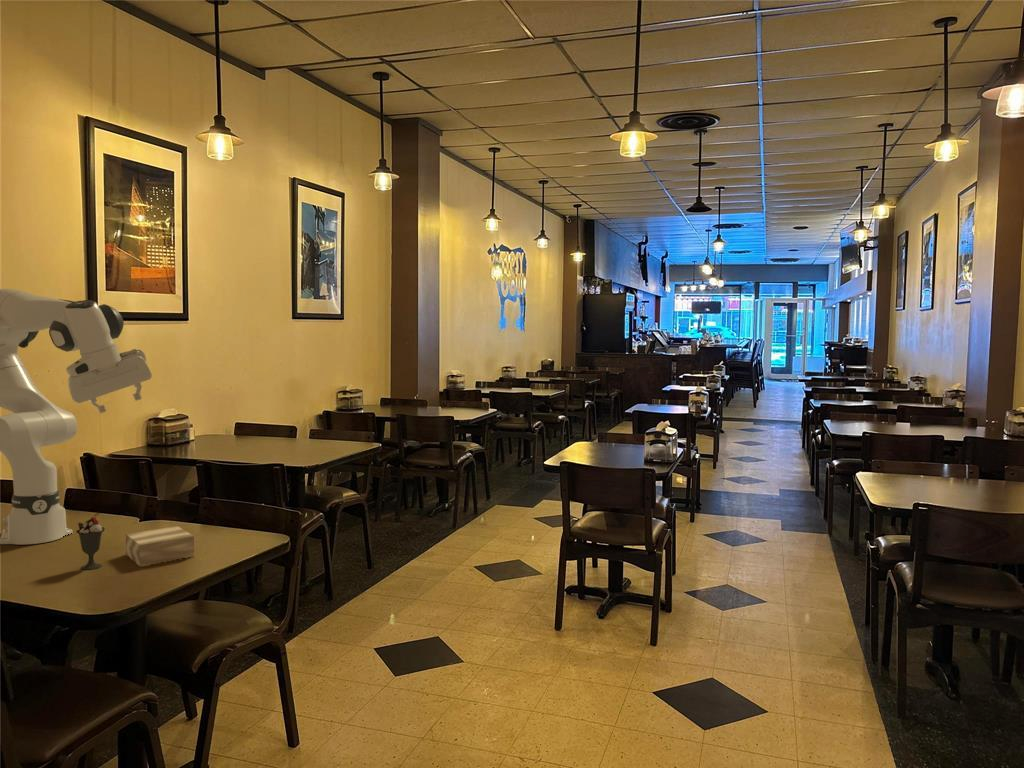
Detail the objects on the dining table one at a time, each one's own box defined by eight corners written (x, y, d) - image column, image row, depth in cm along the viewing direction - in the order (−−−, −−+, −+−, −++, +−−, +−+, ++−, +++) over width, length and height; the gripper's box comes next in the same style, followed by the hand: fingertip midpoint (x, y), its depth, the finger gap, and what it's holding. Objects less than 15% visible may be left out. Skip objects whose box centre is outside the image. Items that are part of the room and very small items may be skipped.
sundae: (109, 567, 194) (108, 512, 193) (81, 572, 189) (80, 516, 188) (101, 561, 198) (99, 508, 197) (73, 567, 193) (72, 512, 192)
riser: (126, 554, 205) (125, 534, 204) (177, 545, 214) (177, 525, 214) (140, 566, 194) (140, 545, 194) (194, 556, 204) (193, 536, 203)
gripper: (138, 346, 204) (156, 391, 208) (59, 370, 192) (79, 417, 196) (144, 347, 199) (162, 393, 203) (63, 372, 187) (84, 421, 191)
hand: (121, 405), depth 200 cm, fingers open, 8 cm apart
